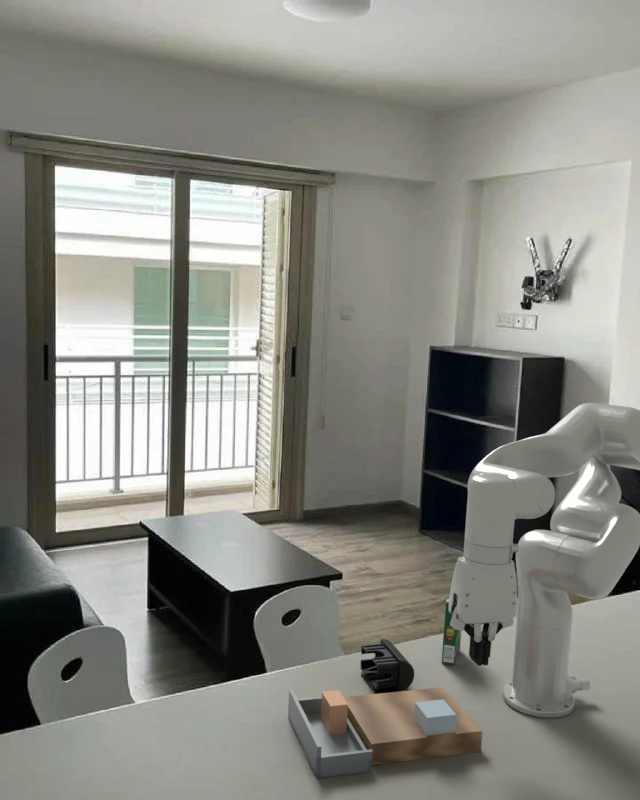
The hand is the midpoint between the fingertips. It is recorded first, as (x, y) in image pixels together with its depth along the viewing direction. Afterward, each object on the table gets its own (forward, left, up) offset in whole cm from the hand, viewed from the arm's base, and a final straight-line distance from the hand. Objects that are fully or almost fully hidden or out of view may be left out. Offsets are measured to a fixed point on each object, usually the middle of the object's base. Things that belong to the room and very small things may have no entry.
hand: (478, 661), depth 133 cm
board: (+9, -5, -14) cm, 17 cm away
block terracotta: (+20, -9, -11) cm, 24 cm away
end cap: (+7, -22, -14) cm, 27 cm away
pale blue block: (+7, 0, -10) cm, 13 cm away
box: (+24, -5, -14) cm, 28 cm away
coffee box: (-10, -30, -14) cm, 35 cm away
